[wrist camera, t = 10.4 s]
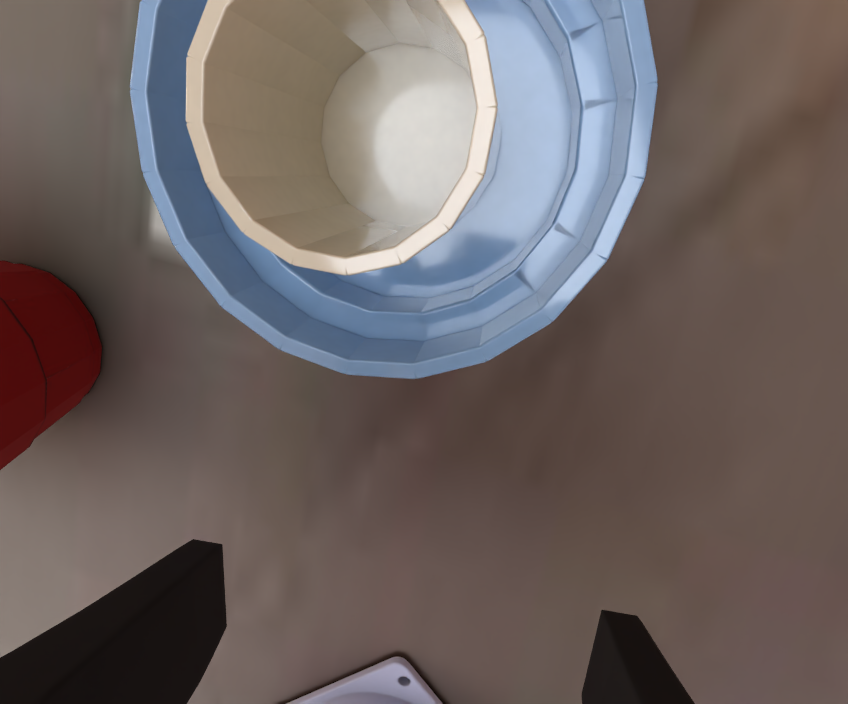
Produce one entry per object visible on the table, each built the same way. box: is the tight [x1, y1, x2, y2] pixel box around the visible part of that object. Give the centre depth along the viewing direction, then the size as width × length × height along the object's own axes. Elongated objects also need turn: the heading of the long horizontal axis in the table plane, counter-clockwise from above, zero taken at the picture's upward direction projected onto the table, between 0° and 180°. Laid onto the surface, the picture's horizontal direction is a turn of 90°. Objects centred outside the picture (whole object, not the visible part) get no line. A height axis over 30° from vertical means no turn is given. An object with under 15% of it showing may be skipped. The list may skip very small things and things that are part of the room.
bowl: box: [130, 0, 658, 379], centre depth 14 cm, size 12×12×4 cm
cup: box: [186, 0, 502, 276], centre depth 12 cm, size 6×6×7 cm
